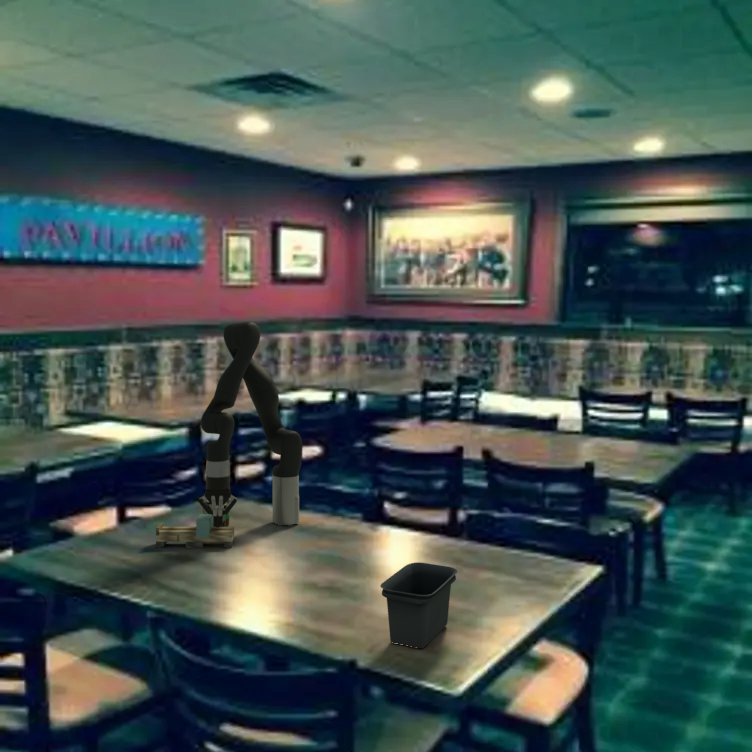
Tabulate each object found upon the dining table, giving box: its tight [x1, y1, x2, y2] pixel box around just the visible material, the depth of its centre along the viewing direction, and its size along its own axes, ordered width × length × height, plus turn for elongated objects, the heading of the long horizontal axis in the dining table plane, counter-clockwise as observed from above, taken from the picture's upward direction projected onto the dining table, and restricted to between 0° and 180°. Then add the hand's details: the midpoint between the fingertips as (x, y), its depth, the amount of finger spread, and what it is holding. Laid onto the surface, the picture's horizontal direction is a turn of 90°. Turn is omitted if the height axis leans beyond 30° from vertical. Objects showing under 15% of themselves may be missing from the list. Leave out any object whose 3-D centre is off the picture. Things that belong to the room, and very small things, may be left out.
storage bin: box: [380, 562, 458, 649], centre depth 204 cm, size 21×16×14 cm
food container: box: [201, 498, 231, 527], centre depth 293 cm, size 12×6×10 cm, turn 58°
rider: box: [195, 513, 213, 538], centre depth 273 cm, size 4×9×5 cm, turn 2°
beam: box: [155, 522, 235, 549], centre depth 273 cm, size 24×6×6 cm, turn 92°
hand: (218, 526), depth 273 cm, fingers closed
